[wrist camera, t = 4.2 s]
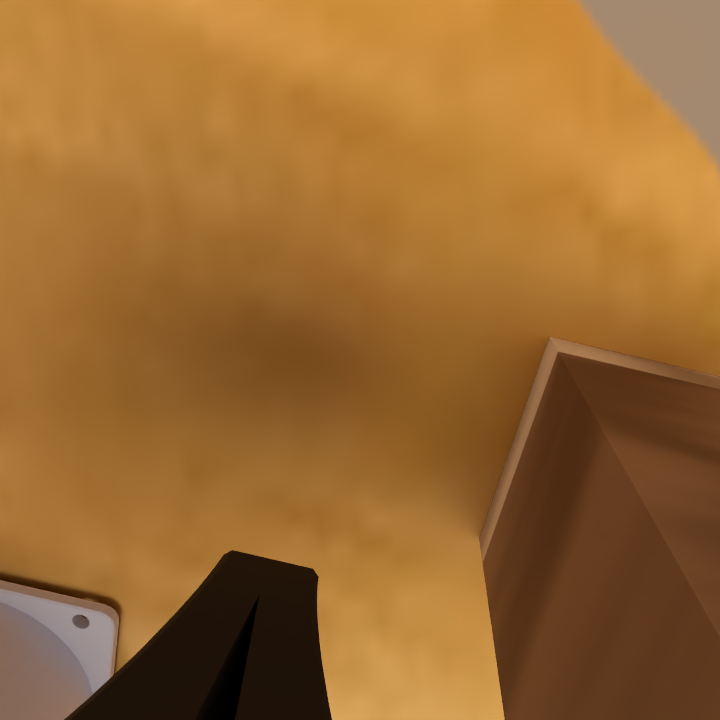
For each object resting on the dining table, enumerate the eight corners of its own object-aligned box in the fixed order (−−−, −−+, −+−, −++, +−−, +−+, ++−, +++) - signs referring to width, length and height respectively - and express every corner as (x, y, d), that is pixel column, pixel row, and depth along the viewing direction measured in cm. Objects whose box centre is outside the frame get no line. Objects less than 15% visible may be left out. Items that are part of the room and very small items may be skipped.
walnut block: (479, 538, 18) (546, 1010, 9) (549, 336, 16) (743, 679, 6) (657, 580, 18) (916, 1094, 9) (753, 384, 16) (1245, 795, 6)
